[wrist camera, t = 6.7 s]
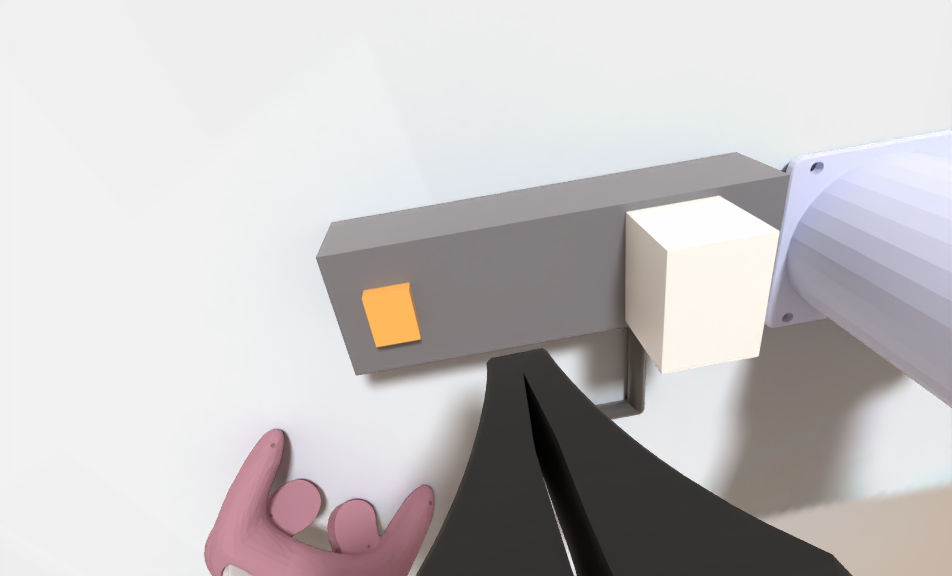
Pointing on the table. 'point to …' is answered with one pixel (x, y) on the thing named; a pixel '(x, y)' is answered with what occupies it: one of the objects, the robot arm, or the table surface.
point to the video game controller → (293, 509)
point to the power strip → (568, 270)
